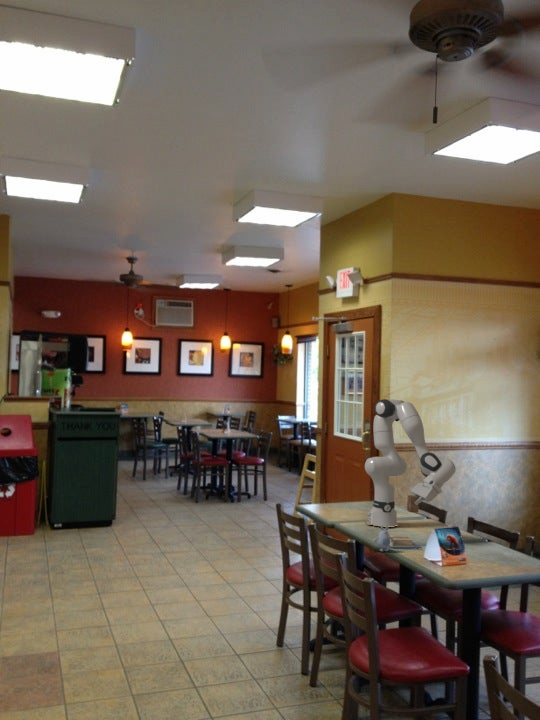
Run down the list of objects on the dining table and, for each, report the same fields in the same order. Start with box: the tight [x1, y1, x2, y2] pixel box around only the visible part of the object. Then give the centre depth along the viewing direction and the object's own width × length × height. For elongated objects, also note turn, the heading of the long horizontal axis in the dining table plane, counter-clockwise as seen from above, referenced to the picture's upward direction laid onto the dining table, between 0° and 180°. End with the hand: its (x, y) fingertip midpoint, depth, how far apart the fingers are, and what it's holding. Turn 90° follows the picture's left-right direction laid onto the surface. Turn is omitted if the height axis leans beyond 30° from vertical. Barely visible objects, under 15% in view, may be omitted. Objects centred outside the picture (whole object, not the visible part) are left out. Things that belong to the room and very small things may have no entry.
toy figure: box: [373, 526, 394, 552], centre depth 316 cm, size 11×6×12 cm, turn 101°
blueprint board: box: [389, 541, 423, 550], centre depth 330 cm, size 16×16×1 cm
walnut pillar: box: [406, 494, 420, 513], centre depth 345 cm, size 4×4×8 cm
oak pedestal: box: [389, 534, 414, 546], centre depth 329 cm, size 10×10×3 cm
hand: (412, 502), depth 345 cm, fingers closed on walnut pillar, 4 cm apart
